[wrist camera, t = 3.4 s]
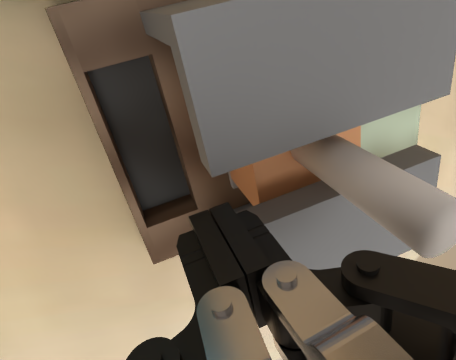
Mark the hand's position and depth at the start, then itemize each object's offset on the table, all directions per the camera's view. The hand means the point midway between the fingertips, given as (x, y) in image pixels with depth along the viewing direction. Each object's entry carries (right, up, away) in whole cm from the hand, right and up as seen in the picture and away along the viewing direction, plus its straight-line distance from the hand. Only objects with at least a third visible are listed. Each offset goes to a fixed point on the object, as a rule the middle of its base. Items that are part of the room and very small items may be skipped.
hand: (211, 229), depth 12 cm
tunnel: (+3, +6, +9) cm, 11 cm away
